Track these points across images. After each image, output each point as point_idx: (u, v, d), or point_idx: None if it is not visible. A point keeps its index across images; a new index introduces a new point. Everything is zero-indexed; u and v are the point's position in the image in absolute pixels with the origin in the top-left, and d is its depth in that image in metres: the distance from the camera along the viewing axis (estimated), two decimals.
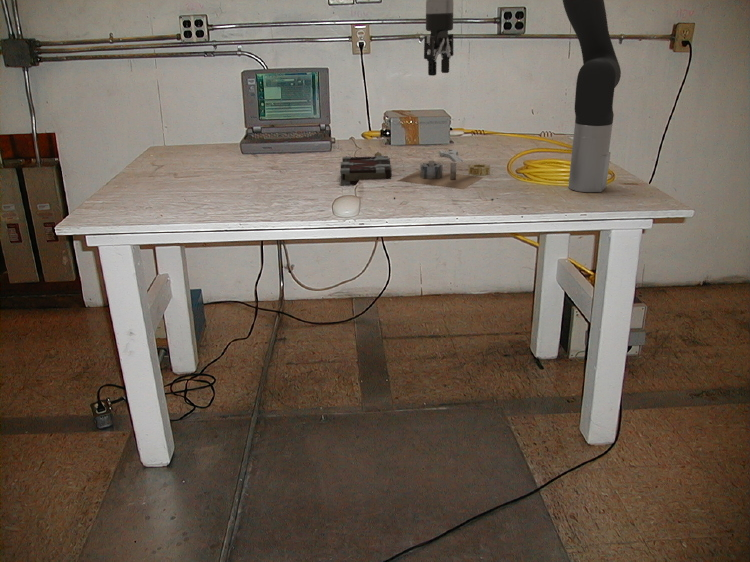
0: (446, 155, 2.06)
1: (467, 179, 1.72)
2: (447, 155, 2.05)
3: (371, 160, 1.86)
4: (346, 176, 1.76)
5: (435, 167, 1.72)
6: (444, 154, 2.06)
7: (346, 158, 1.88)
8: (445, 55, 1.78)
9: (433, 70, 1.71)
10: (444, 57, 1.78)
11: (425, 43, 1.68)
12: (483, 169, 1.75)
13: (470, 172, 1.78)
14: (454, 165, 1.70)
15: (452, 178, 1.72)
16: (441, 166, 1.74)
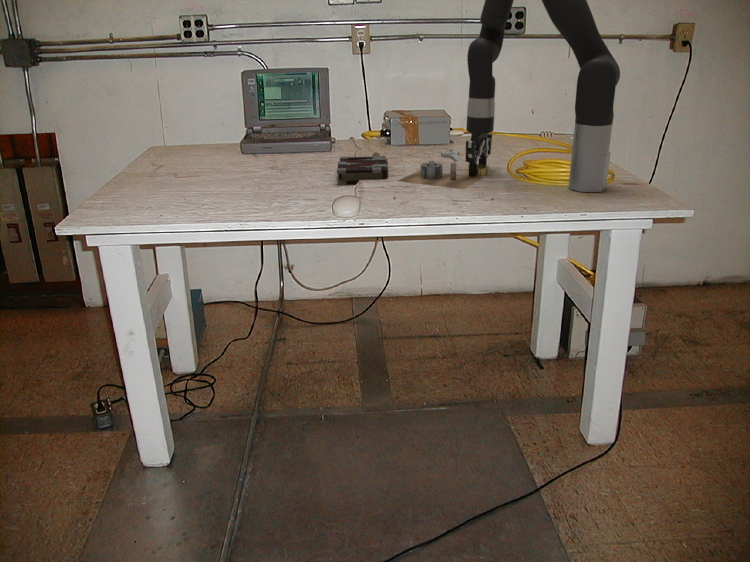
0: (448, 155, 2.05)
1: (467, 179, 1.72)
2: (449, 155, 2.05)
3: (368, 160, 1.86)
4: (343, 176, 1.76)
5: (435, 167, 1.72)
6: (445, 154, 2.06)
7: (344, 158, 1.88)
8: (483, 154, 1.79)
9: (474, 172, 1.74)
10: (481, 156, 1.80)
11: (466, 148, 1.70)
12: (482, 169, 1.75)
13: None
14: (454, 165, 1.70)
15: (452, 178, 1.72)
16: (441, 166, 1.74)
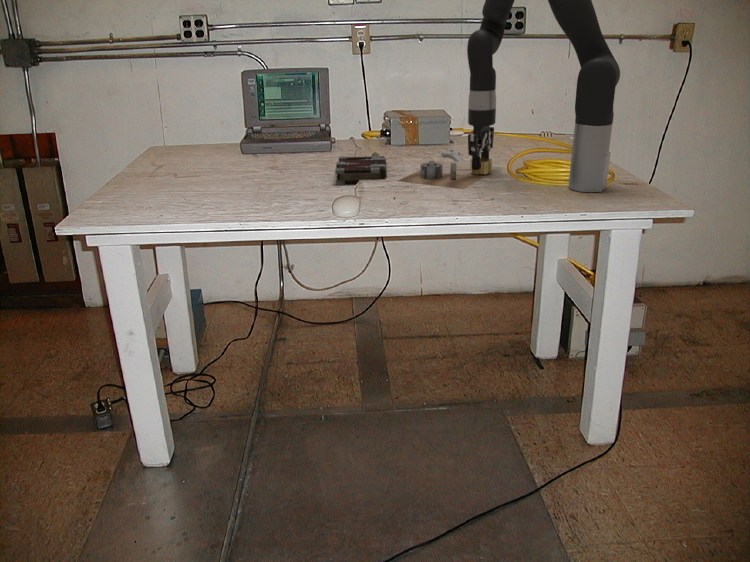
0: (448, 155, 2.05)
1: (467, 179, 1.72)
2: (449, 155, 2.05)
3: (367, 160, 1.86)
4: (341, 176, 1.76)
5: (435, 167, 1.72)
6: (446, 154, 2.06)
7: (342, 158, 1.88)
8: (485, 148, 1.79)
9: (477, 165, 1.74)
10: (484, 149, 1.79)
11: (469, 141, 1.70)
12: (485, 162, 1.74)
13: None
14: (454, 165, 1.70)
15: (452, 178, 1.72)
16: (441, 166, 1.74)
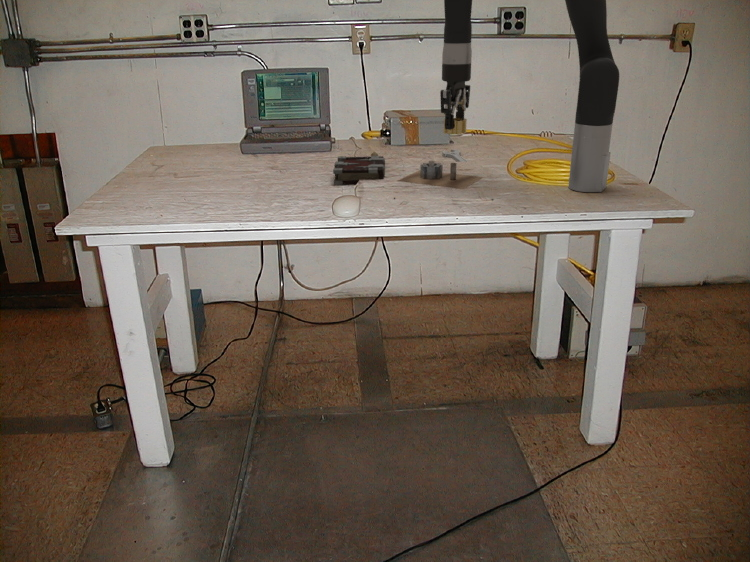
0: (449, 156, 2.05)
1: (467, 179, 1.72)
2: (450, 156, 2.04)
3: (366, 160, 1.86)
4: (339, 176, 1.76)
5: (435, 167, 1.72)
6: (447, 155, 2.05)
7: (341, 158, 1.88)
8: (460, 107, 1.68)
9: (450, 124, 1.63)
10: (459, 109, 1.68)
11: (441, 98, 1.59)
12: (459, 122, 1.64)
13: None
14: (454, 165, 1.70)
15: (452, 178, 1.72)
16: (441, 166, 1.74)
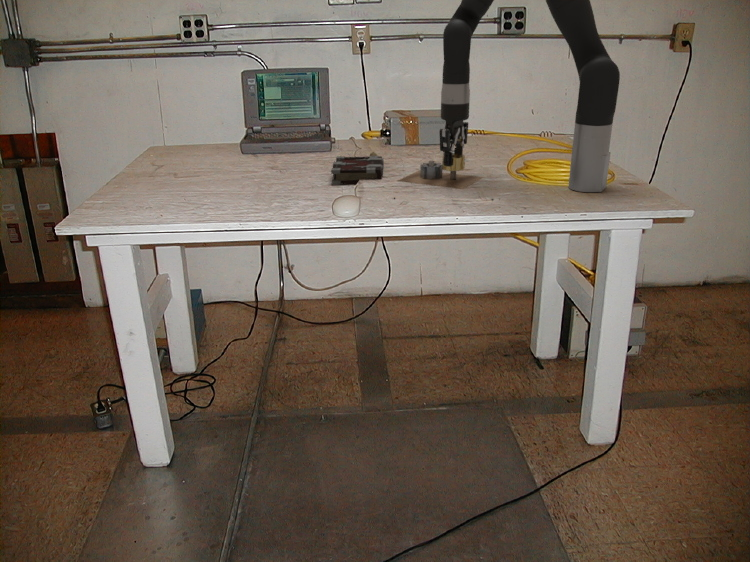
0: None
1: (467, 179, 1.72)
2: None
3: (364, 160, 1.86)
4: (337, 176, 1.76)
5: (435, 167, 1.72)
6: None
7: (340, 158, 1.88)
8: (458, 144, 1.72)
9: (449, 161, 1.67)
10: (457, 145, 1.72)
11: (440, 136, 1.63)
12: (457, 159, 1.67)
13: None
14: None
15: (452, 178, 1.72)
16: (441, 166, 1.74)
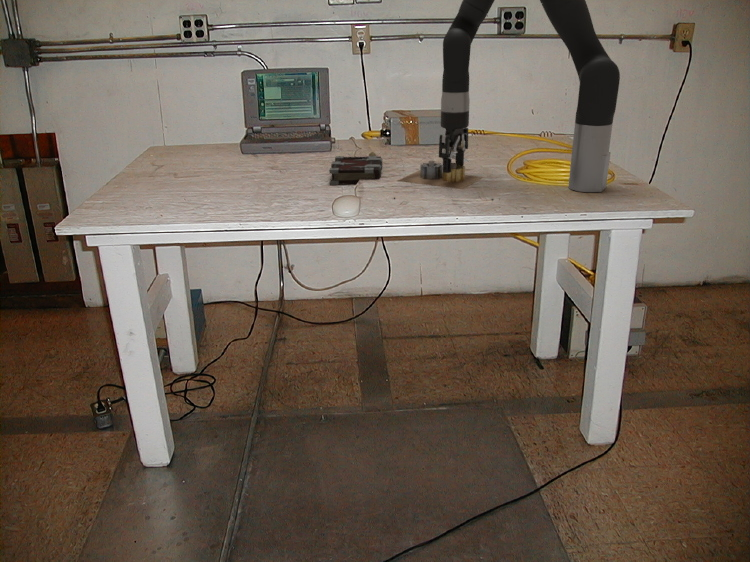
0: None
1: (467, 179, 1.72)
2: (452, 156, 2.04)
3: (363, 160, 1.86)
4: (335, 176, 1.76)
5: (435, 167, 1.72)
6: None
7: (339, 158, 1.88)
8: (460, 149, 1.73)
9: (448, 168, 1.67)
10: (459, 151, 1.73)
11: (440, 142, 1.63)
12: (458, 170, 1.69)
13: (444, 173, 1.71)
14: (454, 165, 1.70)
15: None
16: (441, 166, 1.74)
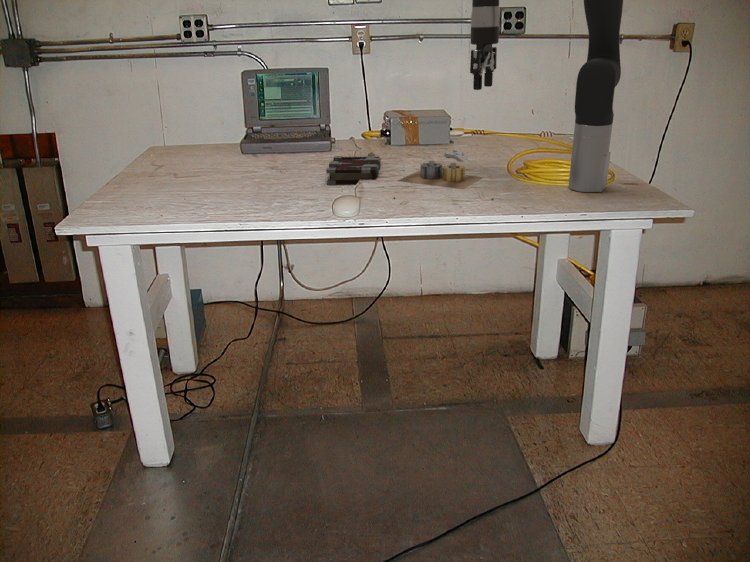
0: (452, 156, 2.04)
1: (467, 179, 1.72)
2: (453, 156, 2.04)
3: (361, 160, 1.86)
4: (332, 175, 1.76)
5: (435, 167, 1.72)
6: (450, 155, 2.05)
7: (337, 157, 1.89)
8: (488, 68, 1.74)
9: (479, 84, 1.68)
10: (487, 70, 1.74)
11: (472, 57, 1.64)
12: (458, 170, 1.69)
13: (444, 173, 1.71)
14: (454, 165, 1.70)
15: None
16: (441, 166, 1.74)
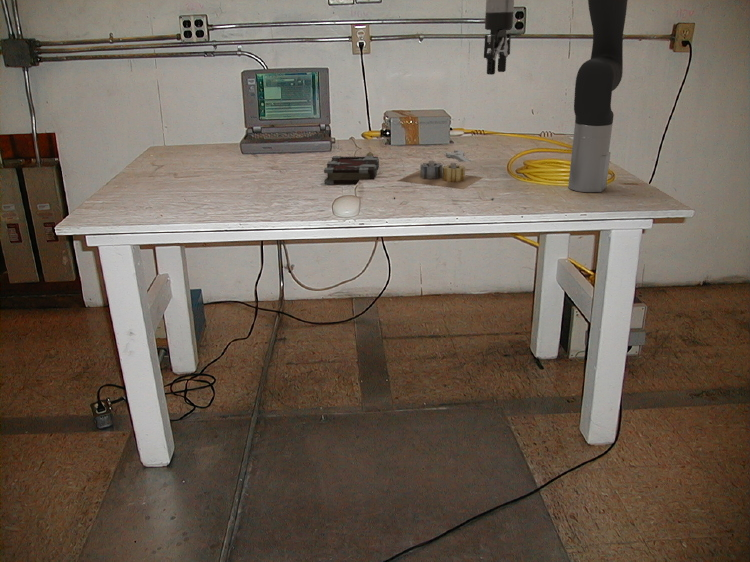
0: (453, 156, 2.04)
1: (467, 179, 1.72)
2: (454, 156, 2.03)
3: (359, 160, 1.86)
4: (330, 175, 1.77)
5: (435, 167, 1.72)
6: (451, 155, 2.04)
7: (335, 157, 1.89)
8: (502, 54, 1.78)
9: (492, 69, 1.71)
10: (501, 56, 1.78)
11: (485, 42, 1.68)
12: (458, 170, 1.69)
13: (444, 173, 1.71)
14: (454, 165, 1.70)
15: None
16: (441, 166, 1.74)
